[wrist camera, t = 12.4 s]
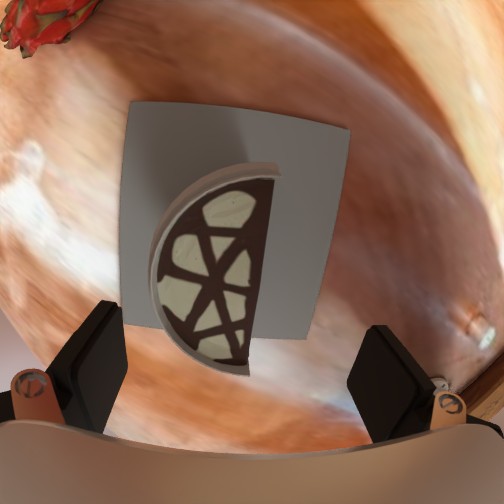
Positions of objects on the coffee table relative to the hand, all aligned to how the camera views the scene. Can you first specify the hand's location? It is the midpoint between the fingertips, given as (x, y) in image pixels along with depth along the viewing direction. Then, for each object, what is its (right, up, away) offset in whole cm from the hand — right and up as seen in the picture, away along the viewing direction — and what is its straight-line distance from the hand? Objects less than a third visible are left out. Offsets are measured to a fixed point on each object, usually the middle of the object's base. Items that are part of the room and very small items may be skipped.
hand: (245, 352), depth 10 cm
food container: (-3, +5, +13) cm, 15 cm away
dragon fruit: (-17, +26, +5) cm, 31 cm away
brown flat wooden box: (+49, -28, +31) cm, 64 cm away
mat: (-2, +5, +14) cm, 15 cm away
